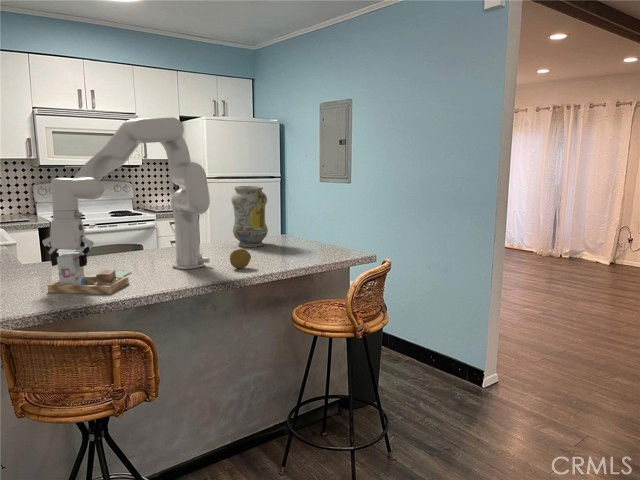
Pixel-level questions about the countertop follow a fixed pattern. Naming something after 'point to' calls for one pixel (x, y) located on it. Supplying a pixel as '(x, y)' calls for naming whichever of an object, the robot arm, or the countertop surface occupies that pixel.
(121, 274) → the mat
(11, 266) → the countertop surface
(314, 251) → the countertop surface
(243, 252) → the potato
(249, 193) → the vase
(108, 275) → the offcut top
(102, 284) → the offcut low
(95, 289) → the frame
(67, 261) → the ink box
